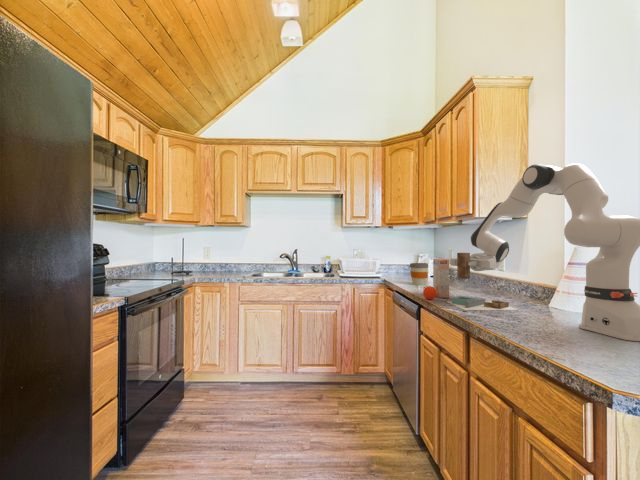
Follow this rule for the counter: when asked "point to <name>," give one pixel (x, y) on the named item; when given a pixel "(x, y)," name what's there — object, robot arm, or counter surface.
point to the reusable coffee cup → (419, 273)
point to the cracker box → (441, 277)
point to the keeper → (496, 304)
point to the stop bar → (463, 265)
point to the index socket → (461, 300)
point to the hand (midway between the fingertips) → (462, 263)
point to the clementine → (429, 292)
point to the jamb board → (478, 305)
